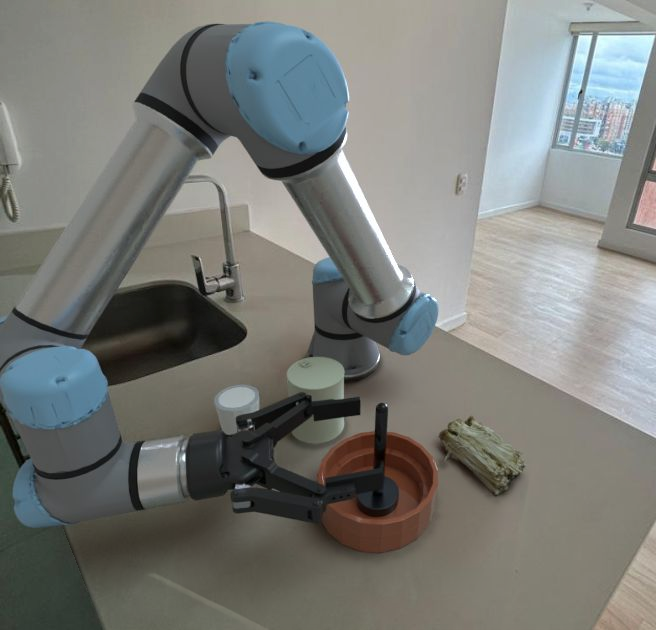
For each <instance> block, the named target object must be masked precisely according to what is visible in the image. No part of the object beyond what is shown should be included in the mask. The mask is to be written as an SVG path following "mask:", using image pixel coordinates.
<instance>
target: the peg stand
mask: <svg viewBox="0 0 656 630" xmlns="http://www.w3.org/2000/svg"><path fill="white" fill-rule="evenodd" d="M374 413H375V414H374V415H375V416H374V431H375V436H374V460H373V469H377V468H382V471H383V482H382V489H380V490H375V491H370V492H365V493H360V494H357V496H356V502H357V506H358V508H359V509H360V510H361V511H362V512H363V513H364V514H366V515H368V516H371V517H383V516H386V515H388V514H390V513H391V512H393V511H394V510H395V508H396V507H397V504H398V499H399V489H398V486H397V484H396V483H395V482H394V481H393V480H392V479H390V478H389V477H386V476H384V475H385V457H386V440H387V432H388V419H389V418H388V417H389V406H388V404H387V403H385V402H378V403H377V404H376V406H375V411H374Z"/></svg>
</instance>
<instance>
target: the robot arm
mask: <svg viewBox="0 0 656 630" xmlns="http://www.w3.org/2000/svg"><path fill="white" fill-rule="evenodd" d="M348 103H350V93H349V87H348V82H347V79H346V76H345V73H344V71H343V68H342V66H341V64H340V62H339V60H338V59H337V57H336V56H335V54H334V53H333V51H332V50H331V49H330V48H329V46H328V45H327V44H325V43H324V41H322V40H321V39H320V38H319V37H318V36H316V35H315V34H313V33H312V32H309V31H307V30H306V29H303V28H301V27H298V26H296V25H295V26H294V25H289V24H284V23H281V22H275V21H271V20H270V21H268V20H267V21H266V20H265V21H256V22H254V23H238V24H237V23H236V24H234V23H230V24H225V23H209V24H208V23H207V24H204V25H200V26H197V27H195V28H193V29H191V30H189V31H188V32H185V34H184V35H182V36H181V37H180V38H179V39H177V41H176V42H175V43H174V44H173V45H172V46H171V48H170V49H169V50H168V51H167V53H166V54H165V55H164V57H163V58H162V59H161V60H160V61H159V63H158V65H157V66H156V67H155V69H154V71H153V72H152V74H151V75H150V77H149V78H148V80H147V81H146V83H145V85H144V86H143V88H142V89H141V90H140V92H139V93H138V95H137V97H136V98H135V100H134V101H133V103H132V104H131V107H132V110H133V115H134V117H135V120H134V122H133V123H132V125H131V126H130V128H129V130H127V132H126V134H125V135H124V137H123V139H122V140H121V142H120V143H119V145H118V147H116V150H115V151H114V153H112V156H111V157H110V159H108V162H107V163H106V165H105V166H104V168H103V169H102V171H101V172H100V173H99V175H98V177H97V179H96V180H95V182H94V183H93V185H92V186H91V188H90V190H89V192H88V193H87V195H85V197H84V199H83V200H82V202H81V204H80V205H79V206H78V208H77V209H76V211H75V213H74V214H73V215H72V217H71V219H70V221H69V222H68V224H67V225H66V227H65V228H64V230H63V231H62V232H61V235H60V236H59V238H58V239H57V241H56V242H55V244H54V245H53V246H52V248H51V250H50V252H49V253H48V255H47V256H46V257H45V259H44V261H43V262H42V264H41V265H40V267H39V268H38V270H37V271H36V273H35V274H34V276H33V277H32V279H31V281H30V282H29V283H28V285H27V287H26V288H25V290H24V291H23V293H22V295H21V296H20V298H19V299H18V301H17V302H16V304H15V305H14V306H13V308H12V310H11V311H10V312H9V314H8V315H5V316H1V317H0V402H1V403H2V405H3V407H4V409H5V411H6V412H7V414H8V416H9V417H10V419H11V421H12V423H13V425H14V427H15V429H16V430H17V433H18V435H19V436H20V440H21V441H22V443H23V445H24V447H25V449H26V452H27V453H28V455H29V459H27V460H26V461H25V462H24V463H23V464H22V465H21V466H20V468H19V470H18V471H17V473H16V475H15V479H14V482H13V486H12V495H11V496H12V499H13V500H14V506H13V512H14V514H15V517H16V519H17V520H18V521H19V522H20V523H21V524H22V525H23V526H25V527H27V528H32V529H38V528H46V527H56V526H64V525H65V526H66V525H67V526H73V525H77V524H80V523H83V522H87V521H91V520H98V519H103V518H108V517H114V516H118V515H123V514H129V513H133V512H139V511H146V510H151V509H157V508H161V507H168V506H172V505H179V504H184V503H185V502H187V500H188V499H189V497H190V499H192V500H193V501H195V502H197V501H202V500H207V499H208V500H209V499H213V498H219V497H223V496H225V495H226V494H227V493H228V491H230V490H231V492H230V502H231V508H232V512H233V513H234V514H247V513H258V514H264V515H268V516H269V515H270V516H273V517H280V518H284V519H290V520H295V521H299V522H306V523H309V524H320V523H321V522H322V515H323V512H325V511H326V505H328V504H331V503H336V502H341V501H346V500H351V499H353V498H355V494H360V493H365V492H370V491H375V490H380V489H382V482H383V471H382V468H377V469H371V470H366V471H360V472H355V473H349V474H344V475H338V476H333V477H327V478H325V486H324V485H322V484H320V483H318V481H315V480H312V479H310V478H307V477H306V476H303V475H301V474H299V473H296V472H293V471H291V470H288V469H286V468H284V467H281V466H279V465H278V464H277V462H276V461H275V458H274V456H275V447H276V446H277V445H278V442H279V441H281V440H283V439H284V438H285V437H286V436H288V435H289V434H291V432H292V431H293V430H294V429H296V428H297V427H299V426H300V425H301V424H303V423H304V422H305V421H307V420H308V419H309V418H311V417H312V415H313V417H314V421H321V420H328V419H335V418H342V417H344V418H348V417H349V418H350V417H355V416H361V405H362V404H361V402H362V401H361V396H355V397H354V396H353V397H348V398H347V397H346V398H344V399H338V400H335V399H327V400H319V401H312V396H311V395H306V393H305V392H300V393H297V394H295V395H293V396H290V397H289V396H288V397H286V398H283V399H281V400H279V401H276V402H274V403H272V404H270V405H267V406H264V407H263V408H261V409H260V408H259V410H258V411H255V412H253V413H248V414H243V415H239V416H237V417H236V426H237V433H235V434H231V435H227V434H225V432H224V431H222V429H216V430H209V431H203V432H194V433H193V434H192V435H190V436H189V438H188V437H187V436H186V435H185V434H179V435H170V436H165V437H158V438H151V439H146V440H136V441H130V442H129V441H128V442H123V437H122V434H121V433H122V432H121V431H120V428H119V424H118V420H117V417H116V413H115V410H114V405H113V403H112V400H111V396H110V391H109V387H108V386H109V383H108V380H107V379H108V378H107V376H105V375H104V373H103V370H102V369H101V366H100V363H99V361H98V358H97V357H96V355H94V354H93V353H92V352H91V351H90V350H88V349H85V348H82V347H83V346H84V344H85V342H86V340H87V339H88V337H89V335H90V334H91V332H92V330H93V329H94V327H95V325H96V324H97V322H98V320H99V319H100V318H101V315H102V314H103V313H104V311H105V309H106V308H107V306H108V305H109V303H110V301H111V300H112V298H113V297H114V295H115V294H116V293H117V291H118V289H119V287H120V285H122V283H123V281H124V279H125V277H126V276H127V275H128V273H129V271H130V270H131V268H132V267H133V265H134V264H135V262H136V260H137V259H138V257H139V256H140V254H141V252H142V251H143V249H144V248H145V246H146V245H147V243H148V242H149V240H150V238H151V237H152V235H153V233H154V232H155V230H156V229H157V228H158V226H159V224H160V223H161V221H162V220H163V218H164V216H165V214H166V213H167V212H168V210H169V209H170V207H171V206H172V203H173V202H174V200H175V199H176V197H177V196H178V194H179V192H180V191H181V189H182V187H183V186H184V184H185V183H186V181H187V180H188V178H189V177H190V175H191V174H192V172H193V170H194V169H195V167H196V166H197V164H198V163H199V162H200V161H204V160H209V159H212V158H213V156H214V155H215V153H216V152H217V150H218V148H219V147H220V146H221V144H222V143H223V142H224V141H225V140H227V139H229V138H230V137H233V138H236V139H237V140H238V141H239V142H240V144H241V145H242V146H243V148H244V149H245V151H246V153H247V154H248V155H249V157H250V159H251V160H252V161H253V163H254V164H255V165H256V167H257V169H258V171H259V172H260V173H261V175H262V176H264V178H266V179H269V180H273V181H277V182H279V181H280V182H281V183H282V185H283V186H284V188H285V189H286V191H287V192H288V194H289V195H290V197H291V199H292V200H293V202H294V203H295V205H296V206H297V208H298V210H299V211H300V213H301V215H302V216H303V217H304V219H305V221H306V222H307V224H308V226H309V227H310V229H311V230H312V231H313V233H314V235H315V237H316V239H318V241H319V243H320V245H321V246H322V247H323V249H324V250H325V252H326V253H327V255H328V257H325V258H323V259H320V260H318V261H317V262H316V263H315V264H314V267H313V269H312V280H311V284H312V300H313V322H314V330H313V333H312V336H311V339H310V342H309V345H308V349H307V352H306V358H309V357H326V358H331V359H334V360H336V361H338V362H339V363H340V364H341V365H342V366H343V368H344V371H345V373H344V382H351V381H352V382H353V381H358V380H361V379H363V378H367V377H368V376H370V375H371V374H373V373H374V372H375V371H376V370H377V369H378V367H379V364H380V351H379V347H378V345H380V346H382V347H384V348H386V349H387V350H388V351H389V352H391V353H393V352H394V353H396V354H398V355H400V356H410V355H412V354H415V353H416V352H419V350H420V349H422V348H423V347H424V345H425V344H426V343H427V341H428V340H429V339H430V337H431V335H432V334H433V331H434V330H435V327H436V324H437V322H438V318H439V312H440V310H439V309H440V308H439V303H438V301H437V299H436V298H435V297H433V296H431V294H430V293H427V292H422V291H421V290H420V289H419V287H418V285H417V284H416V282H415V279H414V277H413V274H411V272H410V271H409V269H408V268H406V267H405V266H403V265H402V264H397V262H396V260H395V258H394V256H393V254H392V252H391V249H390V247H389V245H388V243H387V241H386V239H385V236H384V235H383V232H382V229H381V228H380V226H379V224H378V222H377V220H376V218H375V216H374V213H373V212H372V209H371V207H370V205H369V203H368V200H367V199H366V197H365V195H364V192H363V191H362V190H363V189H362V188H361V186H360V184H359V182H358V180H357V178H356V175H355V173H354V171H353V169H352V167H351V164H350V163H349V161H348V158H347V157H346V154H345V152H344V150H343V149H344V147H345V144H346V142H347V139H348V130H347V127H346V126H347V122H348V118H349V113H350V112H349V110H347V109H346V108H347V104H348ZM297 402H298V405H296V403H297ZM255 485H258V486H259V487H253V486H255Z"/></svg>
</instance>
